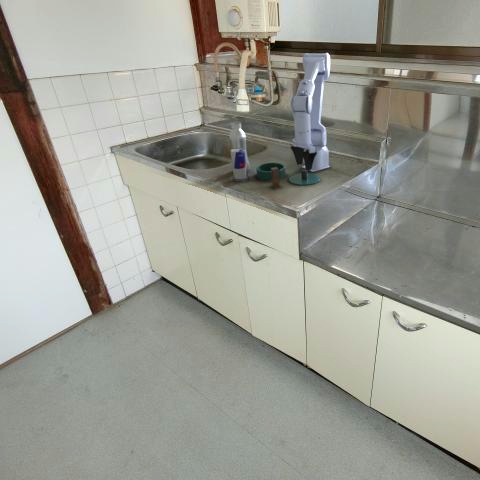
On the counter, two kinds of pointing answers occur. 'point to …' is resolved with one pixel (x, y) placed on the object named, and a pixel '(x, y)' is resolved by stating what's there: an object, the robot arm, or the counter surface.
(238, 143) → the plastic bottle
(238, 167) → the energy drink
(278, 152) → the counter surface
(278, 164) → the tin
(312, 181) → the tin lid
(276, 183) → the stick
